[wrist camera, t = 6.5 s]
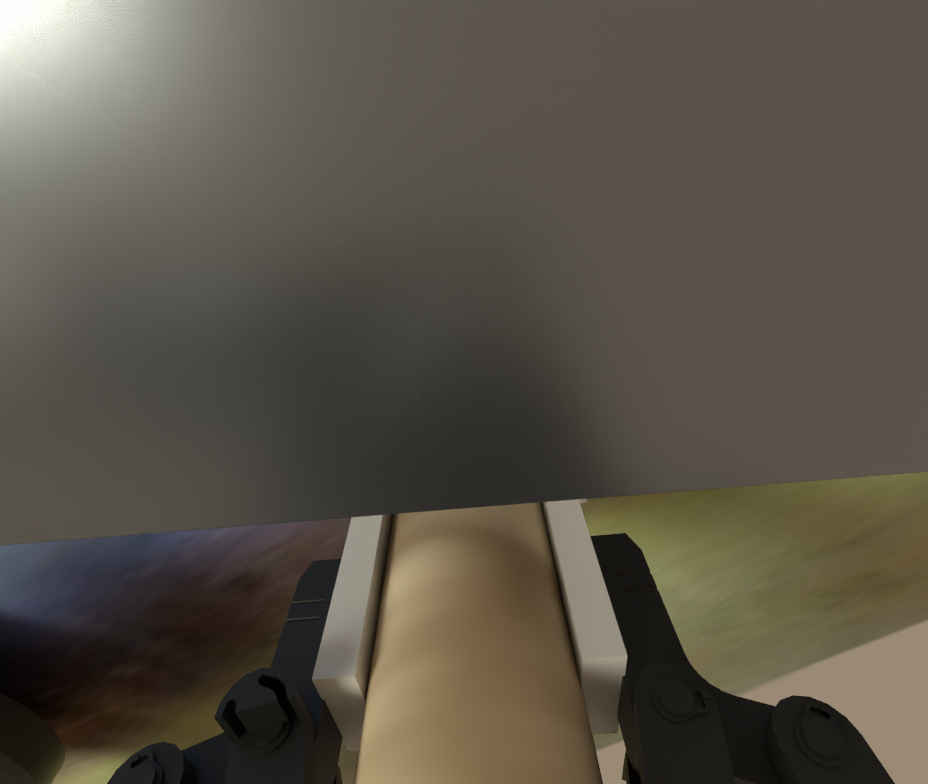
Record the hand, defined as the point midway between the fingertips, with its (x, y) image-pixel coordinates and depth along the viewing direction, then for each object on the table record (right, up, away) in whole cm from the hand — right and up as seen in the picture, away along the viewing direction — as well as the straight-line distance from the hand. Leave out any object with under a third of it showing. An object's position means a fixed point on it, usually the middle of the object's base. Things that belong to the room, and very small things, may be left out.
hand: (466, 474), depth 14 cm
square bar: (-1, +11, -3) cm, 11 cm away
